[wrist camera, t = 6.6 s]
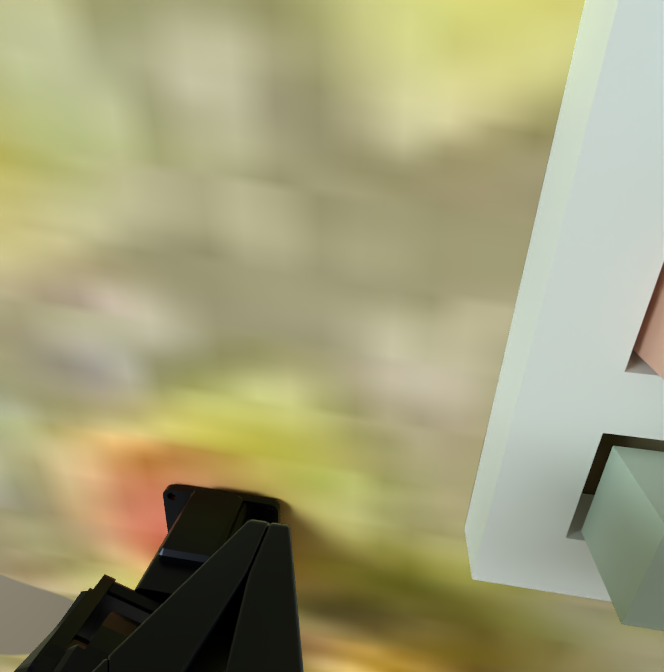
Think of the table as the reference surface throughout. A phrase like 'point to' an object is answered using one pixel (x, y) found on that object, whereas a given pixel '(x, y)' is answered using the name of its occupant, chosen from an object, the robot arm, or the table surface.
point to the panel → (579, 312)
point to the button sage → (630, 534)
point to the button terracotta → (653, 330)
